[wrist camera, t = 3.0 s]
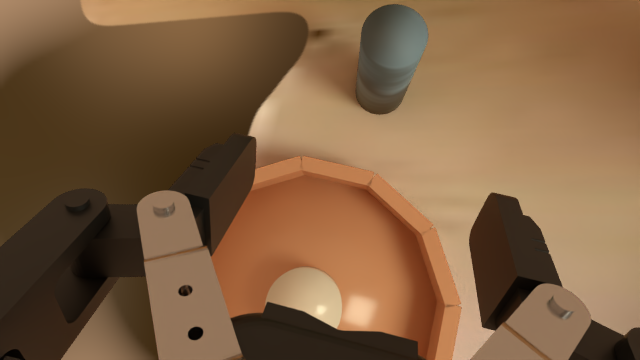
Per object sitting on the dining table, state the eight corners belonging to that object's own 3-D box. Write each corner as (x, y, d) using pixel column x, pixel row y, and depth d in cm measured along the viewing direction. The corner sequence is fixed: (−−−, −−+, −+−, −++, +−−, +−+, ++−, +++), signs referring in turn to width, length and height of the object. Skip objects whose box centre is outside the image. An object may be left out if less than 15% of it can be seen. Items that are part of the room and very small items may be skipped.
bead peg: (408, 73, 36) (434, 11, 26) (398, 119, 35) (420, 71, 26) (361, 64, 37) (369, -2, 27) (350, 108, 36) (354, 58, 26)
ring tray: (467, 201, 34) (482, 196, 30) (413, 486, 31) (422, 517, 27) (216, 143, 36) (203, 132, 33) (140, 404, 33) (117, 423, 29)
